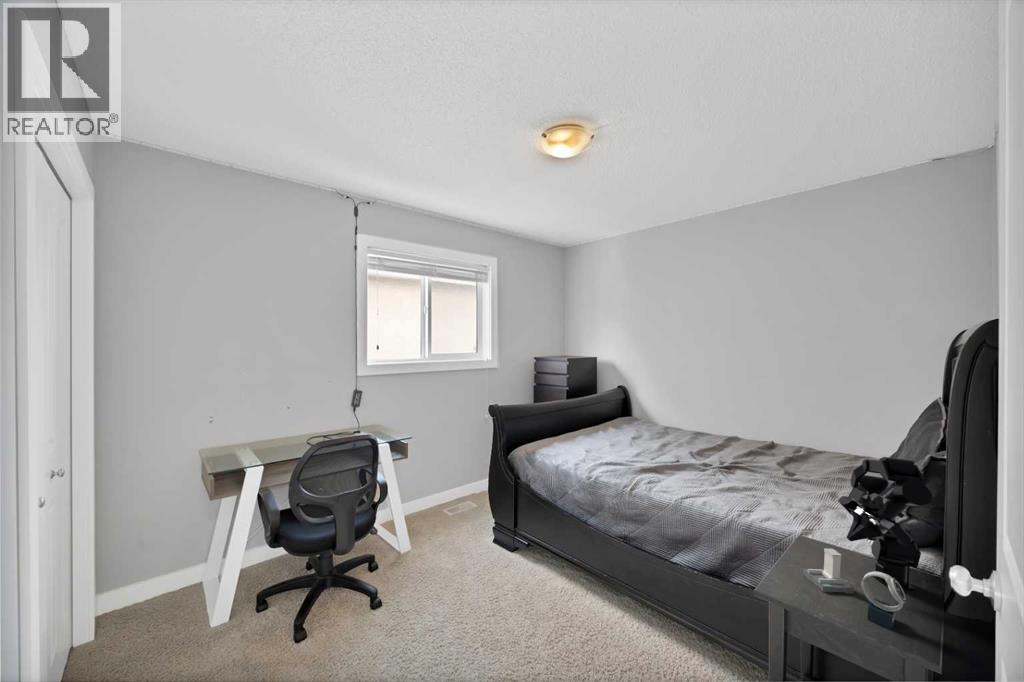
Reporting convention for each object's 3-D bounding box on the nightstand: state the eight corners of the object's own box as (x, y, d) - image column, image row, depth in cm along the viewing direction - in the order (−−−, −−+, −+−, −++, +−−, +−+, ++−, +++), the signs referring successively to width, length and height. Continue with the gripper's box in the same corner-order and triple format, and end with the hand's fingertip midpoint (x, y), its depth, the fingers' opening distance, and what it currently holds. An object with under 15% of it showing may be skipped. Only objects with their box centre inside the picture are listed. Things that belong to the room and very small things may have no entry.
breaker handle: (832, 574, 116) (834, 548, 116) (841, 581, 113) (842, 555, 113) (821, 574, 116) (823, 548, 116) (830, 580, 113) (831, 554, 113)
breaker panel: (831, 575, 118) (832, 567, 118) (853, 593, 110) (854, 584, 110) (803, 574, 119) (803, 565, 119) (822, 592, 111) (823, 582, 111)
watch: (903, 634, 96) (905, 587, 95) (858, 615, 102) (860, 571, 101) (906, 623, 99) (908, 578, 99) (862, 606, 105) (864, 563, 105)
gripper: (845, 468, 123) (805, 503, 124) (902, 493, 104) (854, 535, 105) (871, 495, 123) (831, 531, 123) (933, 526, 104) (885, 567, 105)
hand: (848, 539), depth 114 cm, fingers closed
